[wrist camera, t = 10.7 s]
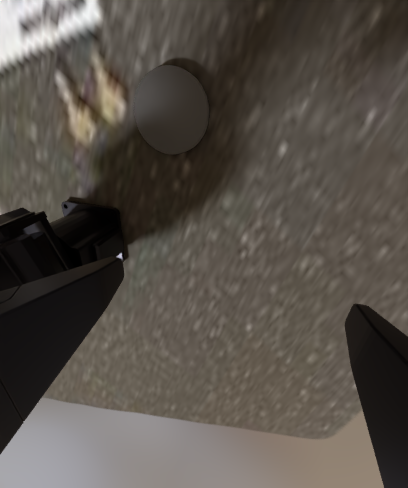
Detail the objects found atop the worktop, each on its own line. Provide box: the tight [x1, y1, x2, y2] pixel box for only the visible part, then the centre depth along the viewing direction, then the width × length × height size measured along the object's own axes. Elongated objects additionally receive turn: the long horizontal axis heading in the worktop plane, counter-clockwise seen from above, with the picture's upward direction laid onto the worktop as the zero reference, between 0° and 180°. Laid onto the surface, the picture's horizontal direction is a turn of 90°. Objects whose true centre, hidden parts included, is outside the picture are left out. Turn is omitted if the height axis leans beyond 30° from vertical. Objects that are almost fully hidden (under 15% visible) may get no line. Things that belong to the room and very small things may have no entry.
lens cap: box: [134, 65, 210, 154], centre depth 19 cm, size 6×6×1 cm
